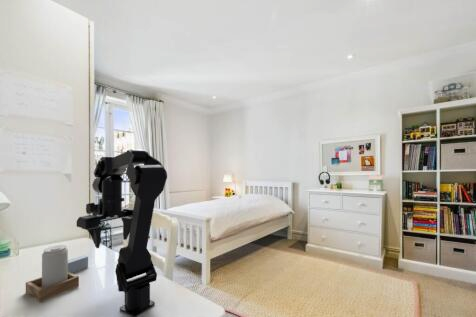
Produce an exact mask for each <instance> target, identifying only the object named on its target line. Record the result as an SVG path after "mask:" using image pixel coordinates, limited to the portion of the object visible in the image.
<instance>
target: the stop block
mask: <svg viewBox="0 0 476 317" xmlns="http://www.w3.org/2000/svg"><path fill="white" fill-rule="evenodd" d="M88 268H89V256H87V255H84V254H82V255H80V256H77V257H73V258H70V259H68V272H70V273H72V274H74V273H77V272H79V271H82V270H85V269H88Z"/></svg>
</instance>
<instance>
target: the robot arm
mask: <svg viewBox="0 0 476 317" xmlns="http://www.w3.org/2000/svg"><path fill="white" fill-rule="evenodd" d="M124 173H125V175H126V176H127V178H128V180H129V182H130V184H129V187H130V188H131V190H132V193H133V194H134V204H133V206H132V207H127V208H122V207H123V202H125V198H124V197H122V196H123V195H122V194H123V192H122V191H123V186H122V185H123V183H122V182H123V181H124V178H123V177H122V176H123V175H124ZM93 176H94V178H95V179H94V180H93V182H92V190H93V191H94V192H96V193H99V194H101V198H99V199H98V203H97V204H95V202H90V203H86V204H85V205H86V206H85V212H86V214H87V215H83V216H82V215H81V216H79V217H78V218H77V220H76V227H77V228H81V230H84V231H85V230H86V231H87V233H89V235H90V236H91V240H92V241H93V243H94V246H95V249H100V246H101V245H100V244H101V237H102V236H101V234H102V226H100V224H101V223H102V222H108V221H112V220H116V219H117V220H118V219H121V221H122V224H123V225H122V237H123V239H122V240H124V241H126V240H127V239H128V242H127V243H128V244H127V246H123V247H120V249H119V252H118V259H117V263H116V265H115V271H114V272H115V276H116V284H117V287H118V288H117V291H118V292H123V294H124V304H123V305H122V306H120V307H119V311H121V312H123V313H126V314H128V315H129V316H132V317H138V316H139V315H140V314H141V313H143V312H145V311H147V310H148V309H149V308H151V307H152V306H154V305H155V304H156V303H155V301H153V300H151V283H153V282H156V281H157V277H158V273H157V270H156V268H155V266H154V264H153V261H152V255H151V253H150V251H149V250H148V243H149V238H150V231H151V226H152V222H153V221H152V220H153V214H154V208H155V205H156V204H155V203H156V201H157V199H158V197H160V195H161V194H162V193H163V191H164V190H165V187H166V186H165V185H166V182H167V179H168V171H167V170H166V169H165V167H164V166H163V164H162V163H161V161H159V160H158V159H157V158H155V157H154V156H152V155H151V154H150V153H149V152H148V151H147V150H145V149H133V148H132V149H131V148H130V149H128V150H126V151H125V152H123V153H120V154H118V155H115V156H101V157H100V158H99V160H98V161H97V163H96V166H95V168H94V171H93ZM135 277H136V278H135Z"/></svg>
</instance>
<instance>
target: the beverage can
mask: <svg viewBox="0 0 476 317" xmlns="http://www.w3.org/2000/svg"><path fill="white" fill-rule="evenodd" d="M68 252H69V251H68V249H67V246H66V245H64V244H63V245H61V244H59V245H54V246H49V247H46V248H44V249H43V253H42V254H41V277H42V289H44V288H47V287H50V286H52V285H55V284H58V283H60V282H63V281H65V280H68V260H69V256H68V254H69V253H68Z"/></svg>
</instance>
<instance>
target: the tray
mask: <svg viewBox="0 0 476 317" xmlns="http://www.w3.org/2000/svg"><path fill="white" fill-rule="evenodd" d="M79 286H80V276H79V275H77V274H74V273H70V272H68V280H65V281H63V282H60V283H58V284H55V285H52V286H50V287H47V288H44V289H42V276H41V277H38V278H35V279H33V280H30V281H26V282H25V294H26V295H29V297H31V298H33V299H34V300H36V301H37V302H39V303H42V302H44V301H47V300H50V299H52V298H55V297H57V296H59V295H62V294H63V293H66V292H69V291H71V290H74V289H76V288H77V287H79Z"/></svg>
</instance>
